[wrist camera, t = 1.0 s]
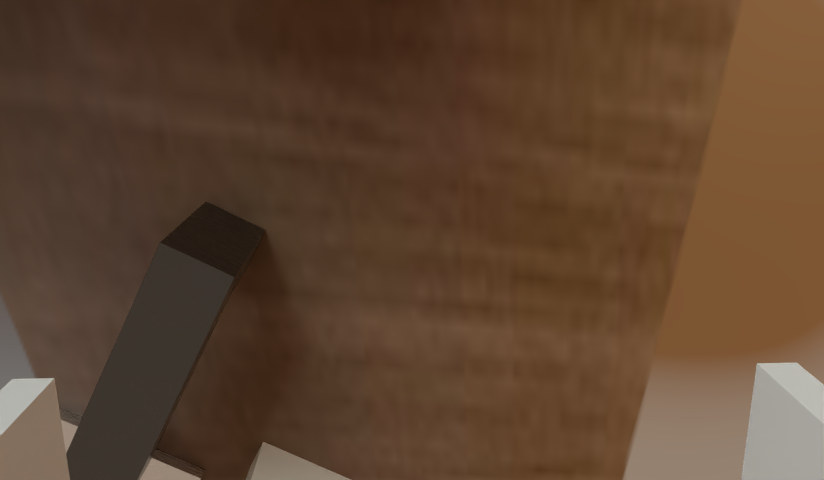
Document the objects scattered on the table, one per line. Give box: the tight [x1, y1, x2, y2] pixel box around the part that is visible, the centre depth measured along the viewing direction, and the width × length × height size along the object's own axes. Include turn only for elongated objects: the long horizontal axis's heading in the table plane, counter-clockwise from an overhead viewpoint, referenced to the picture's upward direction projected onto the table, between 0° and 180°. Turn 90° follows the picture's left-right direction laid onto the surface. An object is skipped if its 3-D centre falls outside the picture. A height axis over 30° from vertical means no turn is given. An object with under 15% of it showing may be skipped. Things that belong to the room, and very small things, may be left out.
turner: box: [59, 202, 265, 480], centre depth 33 cm, size 20×8×7 cm, turn 153°
